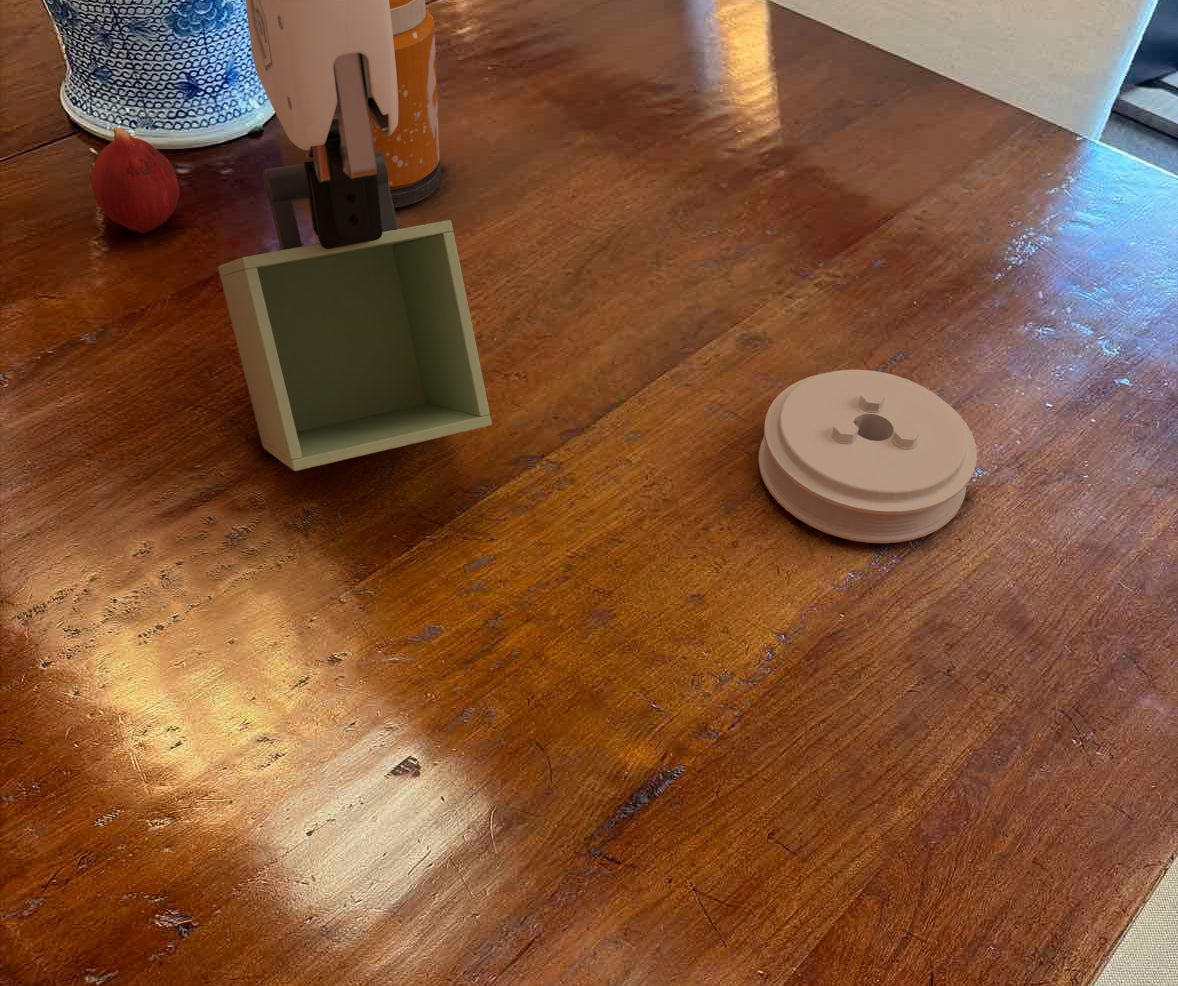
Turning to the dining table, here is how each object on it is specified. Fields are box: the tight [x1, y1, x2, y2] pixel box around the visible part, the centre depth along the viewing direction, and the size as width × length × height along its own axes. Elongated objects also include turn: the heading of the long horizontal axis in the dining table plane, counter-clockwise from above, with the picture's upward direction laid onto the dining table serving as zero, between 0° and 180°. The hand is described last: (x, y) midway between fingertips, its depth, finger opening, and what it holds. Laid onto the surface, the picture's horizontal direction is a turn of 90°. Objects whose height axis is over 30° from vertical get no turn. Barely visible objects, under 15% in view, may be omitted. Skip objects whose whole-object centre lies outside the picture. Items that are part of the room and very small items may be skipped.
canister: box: [373, 0, 442, 208], centre depth 93 cm, size 9×11×20 cm
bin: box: [217, 151, 493, 472], centre depth 73 cm, size 13×11×15 cm
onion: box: [91, 127, 180, 234], centre depth 92 cm, size 6×6×8 cm
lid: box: [758, 369, 978, 544], centre depth 79 cm, size 13×13×5 cm
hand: (348, 235), depth 67 cm, fingers closed
